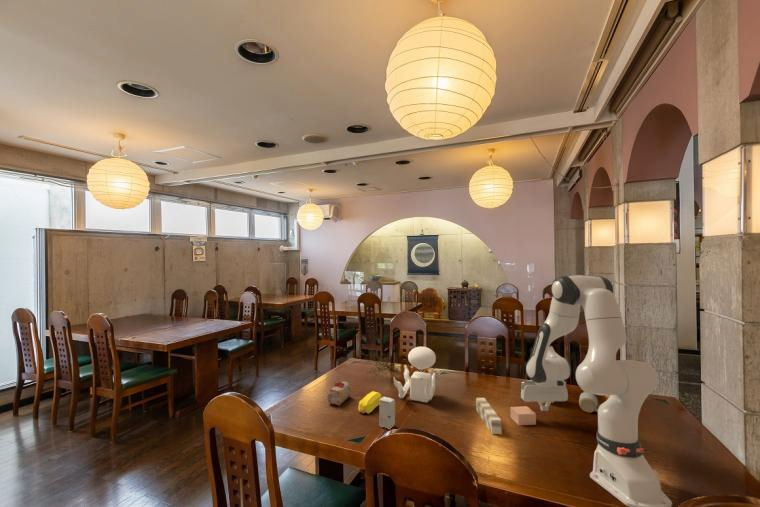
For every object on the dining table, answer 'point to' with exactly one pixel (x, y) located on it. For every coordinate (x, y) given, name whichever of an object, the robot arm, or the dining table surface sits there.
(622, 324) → the robot arm
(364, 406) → the yellow rounded capsule
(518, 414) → the peach block
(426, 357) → the figurine
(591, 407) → the ceramic mug
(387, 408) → the skincare box
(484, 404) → the white segmented block row
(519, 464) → the dining table surface
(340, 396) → the food item
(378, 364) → the dried plant
